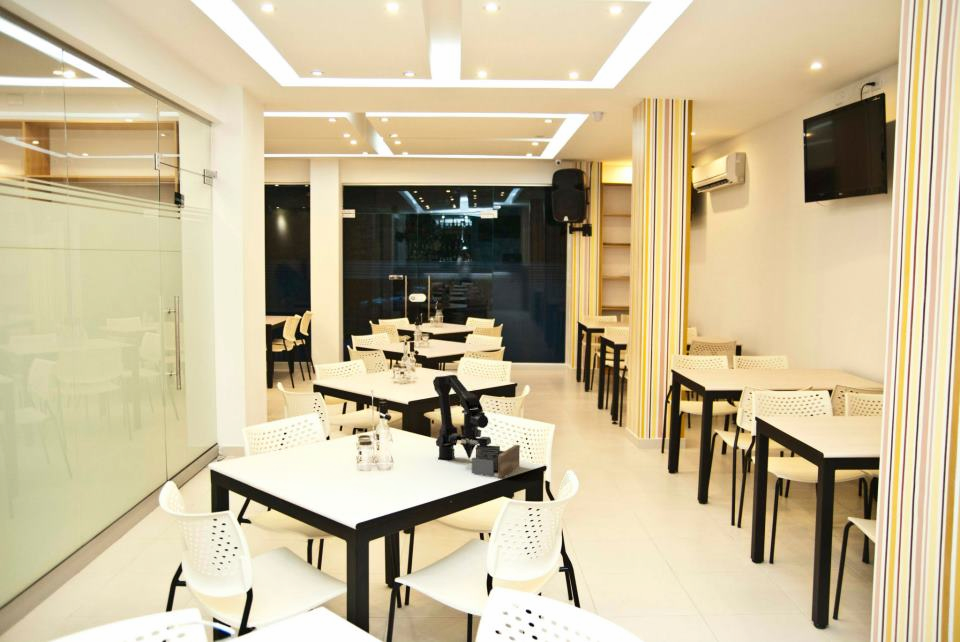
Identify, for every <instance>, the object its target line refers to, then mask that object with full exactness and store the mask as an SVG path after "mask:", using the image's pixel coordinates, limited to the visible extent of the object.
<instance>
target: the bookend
mask: <svg viewBox="0 0 960 642" xmlns="http://www.w3.org/2000/svg"><path fill="white" fill-rule="evenodd" d="M472 473H476V474H475V475H477V474H483V475H482V476H485V475H491V476H490V477H494V476H495V472H494V460H491V459H482V458H476V457H472V458H471V474H472ZM493 475H494V476H493Z"/></svg>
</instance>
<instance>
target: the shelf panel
mask: <svg viewBox="0 0 960 642" xmlns="http://www.w3.org/2000/svg"><path fill="white" fill-rule="evenodd" d="M520 447H521V445H519V444H514V445H513V446H512V447H509V448H507V449H506V450H503V451H504V452H503V453H501V454H500V455H498V472H497V479H499V478H500V480H502V479H505V478H506V477H507V476H508V475H510V474H511V473H513V472H514V471H515V470H514V469H516V468H517V467H518V468H520V451H521V450H520ZM518 468H517V469H518ZM517 469H516V470H517ZM513 470H514V471H513ZM512 471H513V472H512ZM510 472H511V473H510ZM509 473H510V474H509ZM506 475H507V476H506ZM505 476H506V477H505Z"/></svg>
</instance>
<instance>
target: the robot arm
mask: <svg viewBox="0 0 960 642" xmlns="http://www.w3.org/2000/svg"><path fill="white" fill-rule="evenodd" d="M432 383H433V386H434V388H433V389H434V391H435V392H436V394H437V395H438V401H439V410H440V411H439V412H440V418H441V427H440V429H439V431H438V432H439V436H438V437H437V439H436V440H435V443H436V446H437V447H438V457H437V458H438V459H437V460H443V459H444V460H443V461H451V460H453V459H454V457H455V458H456V456H455V448H454V447H455V446H457V444H458V441H460V445H462V447H463V449H464V450H465V453H466V455H467V456H466V457H468V459H471V457H472V454H473V452H474V448H476V446H477V445H484V446H490V445H491V444H492V438H491V437H489V436H482V429H484V428H486V427H487V426H488V424H489V418H488V416H487V415H485V412H484V410H483V406H482V403H481V401H480V399H479V397H478V396H477V395H476V394H474V393H472V392H470V391H469V390H468V389H467V388H466V387H465V386H464V385H463V383H462V382H461V381H460V380H459V378H458V376H457V374H447V375H439V376H435V378H433V381H432ZM451 390H453V392H454V393H455V394H456V396H457V397H458V398H459V399H460V400H459V404H460V406H462V407H461V408H462V411H461V413H462V414H463V426H462V430H463V435H462V433H458V428H457V427H455V425H454V424H453V419H452V417H453V416H452V409H451V402H450V392H451ZM479 428H480V429H479Z"/></svg>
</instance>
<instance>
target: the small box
mask: <svg viewBox="0 0 960 642" xmlns="http://www.w3.org/2000/svg"><path fill="white" fill-rule="evenodd" d="M500 448H501V446H500V445H487V446H484V445H479V444H477V445H475V458H482V459H491V460H494V471H498V455H500V451H501V449H500Z"/></svg>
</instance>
